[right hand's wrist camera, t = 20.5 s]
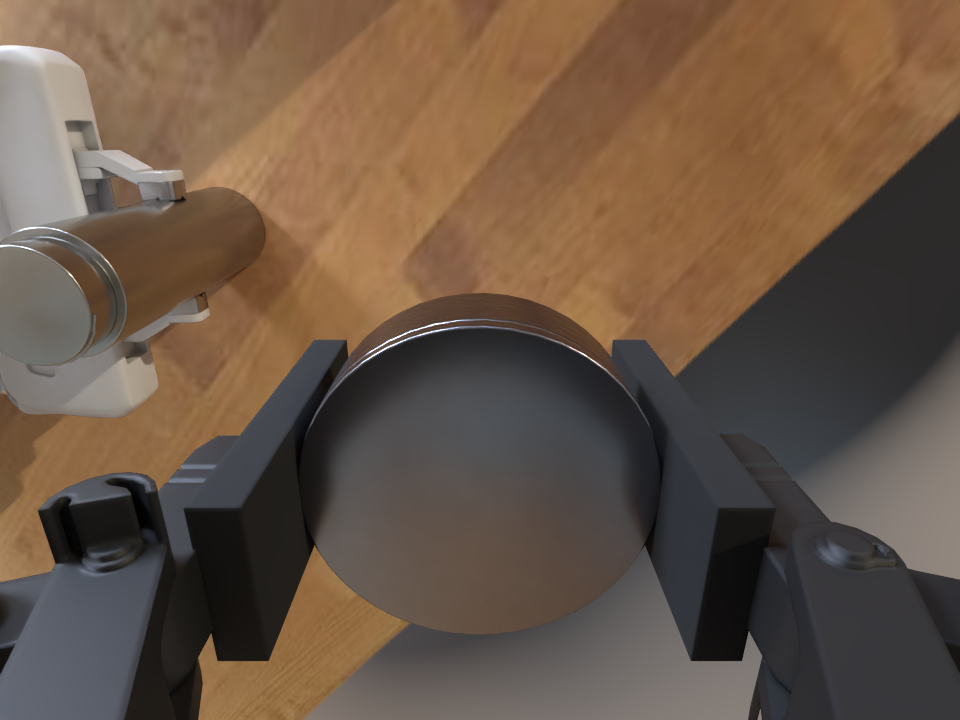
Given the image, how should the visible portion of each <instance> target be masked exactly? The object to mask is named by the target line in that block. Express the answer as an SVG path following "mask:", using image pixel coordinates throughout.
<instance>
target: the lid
mask: <svg viewBox="0 0 960 720" xmlns="http://www.w3.org/2000/svg"><path fill="white" fill-rule="evenodd" d="M298 483H299V492H300V499H301V506H302V513H303V517H304V520H305V523H306V526H307V529H308V532H309V534H310V536H311V538H312V540H313V542H314V544H315V546H316V548H317V550H318V551H319V553H320V554H321V556H322V557H323V559H324V560H325V561H326V563H327V564H328V566H329V567H330V568H331V569H332V570H333V572H334V573H335V574H336V575H337V576H338V577H339V578H340V579H341V580H342V581H343V582H344V583H345V584H346V585H347V586H348V587H349V588H351V589H352V590H353V591H354V592H355V593H356V594H358V595H359V596H360V597H362V598H363V599H365V600H366V601H368V602H369V603H371V604H372V605H374V606H375V607H377V608H379V609H381V610H383V611H385V612H387V613H389V614H391V615H392V616H395V617H397V618H400V619H402V620H405V621H407V622H410V623H412V624H416V625H419V626H423V627H426V628H430V629H434V630H440V631H446V632H451V633H462V634H499V633H507V632H515V631H520V630H525V629H529V628H533V627H537V626H541V625H544V624H547V623H550V622H552V621H555V620H558V619H560V618H562V617H565V616H567V615H569V614H571V613H573V612H575V611H577V610H579V609H580V608H582V607H584V606H586V605H587V604H589V603H591V602H592V601H594V600H595V599H596V598H598V597H599V596H600V595H602V594H603V593H604V592H605V591H607V590H608V589H609V588H611V587H612V586H613V585H614V584H615V583H616V582H617V581H618V580H619V579H620V578H621V577H622V576H623V575H624V574H625V573H626V571H627V570H628V569H629V567H630V566H631V565H632V564H633V562H634V561H635V560H636V558H637V557H638V555H639V554H640V552H641V550H642V549H643V547H644V545H645V544H646V542H647V540H648V538H649V535H650V533H651V530H652V528H653V525H654V523H655V520H656V516H657V511H658V504H659V497H660V489H661V461H660V456H659V452H658V447H657V443H656V439H655V437H654V434H653V432H652V429H651V427H650V424H649V422H648V420H647V418H646V416H645V414H644V413H643V411H642V409H641V407H640V406H639V404H638V402H637V401H636V399H635V397H634V395H633V394H632V392H631V390H630V388H629V387H628V385H627V383H626V381H625V380H624V378H623V376H622V374H621V373H620V371H619V369H618V368H617V366H616V364H615V362H614V361H613V359H612V358H611V356H610V355H609V354H608V353H607V351H606V350H605V349H604V348H603V346H602V345H601V344H600V343H599V342H598V341H597V340H596V339H595V338H594V337H593V336H592V335H591V334H590V333H589V332H587V331H586V330H585V329H584V328H582V327H581V326H580V325H578V324H577V323H575V322H574V321H573V320H571V319H570V318H568V317H567V316H565V315H563V314H561V313H559V312H557V311H555V310H553V309H551V308H549V307H547V306H544V305H541V304H538V303H536V302H533V301H530V300H527V299H522V298H518V297H513V296H509V295H501V294H490V293H472V294H458V295H452V296H446V297H440V298H437V299H434V300H430V301H427V302H424V303H420V304H418V305H416V306H413V307H411V308H409V309H407V310H404V311H402V312H400V313H398V314H397V315H395V316H393V317H392V318H390V319H389V320H387V321H385V322H384V323H382V324H381V325H380V326H378V327H377V328H376V329H375V330H374V331H372V332H371V333H370V334H369V335H368V336H366V337H365V339H364V340H363V341H362V342H361V343H360V344H359V345H358V346H357V347H356V348H355V349H354V351H353V352H352V353H351V355H350V356H349V358H348V359H347V361H346V362H345V364H344V365H343V366H342V368H341V370H340V371H339V373H338V375H337V377H336V378H335V380H334V382H333V384H332V385H331V387H330V389H329V390H328V392H327V394H326V396H325V397H324V399H323V401H322V403H321V404H320V406H319V408H318V409H317V411H316V413H315V415H314V417H313V419H312V421H311V424H310V426H309V428H308V430H307V432H306V436H305V439H304V442H303V446H302V449H301V453H300V460H299V468H298Z"/></svg>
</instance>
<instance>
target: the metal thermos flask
mask: <svg viewBox="0 0 960 720" xmlns="http://www.w3.org/2000/svg"><path fill="white" fill-rule="evenodd" d="M186 195H187V198H181V199H178V200H161V199H158V200H151V201H147V202H142V203H138V204H133V205H129V206H124V207H120V208H115V209H111V210H106V211H102V212H97V213H93V214H88V215H84V216H79V217H75V218H70V219H65V220H61V221H56V222H52V223H47V224H43V225H38V226H34V227H29V228H25V229H21V230H18V231H16V232H13V233H12V234H10V235H8V236H7V237H5V238H4V239H3V240H2V241H1V242H0V352H1V353H2V354H4V355H6V356H8V357H10V358H12V359H14V360H17V361H19V362H23V363H26V364H31V365H38V366H60V365H64V364H67V363H72V362H74V361H75V360H77V359H78V358H86V357H91V356H94V355H97V354H100V353H102V352H104V351H106V350H107V349H109V348H111V347H112V346H114V345H116V344H117V343H119V342H121V341H122V340H124V339H126V338H128V337H129V336H131V335H133V334H134V333H136V332H138V331H139V330H141V329H143V328H144V327H146V326H148V325H149V324H151V323H153V322H154V321H156V320H158V319H159V318H161V317H163V316H165V315H166V314H168V313H170V312H171V311H173V310H175V309H176V308H178V307H180V306H181V305H183V304H185V303H186V302H188V301H190V300H191V299H193V298H195V297H196V296H198V295H200V294H201V293H203V292H205V291H207V290H208V289H210V288H212V287H213V286H215V285H217V284H218V283H220V282H222V281H223V280H225V279H227V278H228V277H230V276H232V275H233V274H235V273H237V272H238V271H240V270H242V269H244V268H245V267H247V266H249V265H250V264H251V263H253V262H254V261H255V260H256V259H257V258H258V256H259V255H260V253H261V252H262V249H263V247H264V243H265V228H264V223H263V220H262V218H261V216H260V213H259V212H258V210H257V209H256V207H255V206H254V205H253V204H252V203H251V202H250V201H249V200H248V199H247V198H246V197H245V196H243V195H242V194H240V193H238V192H236V191H234V190H231V189H228V188H224V187H210V188H205V189H201V190H196V191H192V192H187V193H186Z"/></svg>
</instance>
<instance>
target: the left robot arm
mask: <svg viewBox="0 0 960 720" xmlns="http://www.w3.org/2000/svg"><path fill="white" fill-rule="evenodd" d="M118 176H120V177H122V178H124V179H126V180H128V181H130V182H132V183H134V184H136V185H138V186H139V190H140V194H141V198H142V201H151V200H158V199H161V200H178V199H181V198H187V195H186V189H185V183H184V177H183V172H182V170H153V169H152V167H150V166H148V165H146V164H144V163H142V162H141V161H139V160H137V159H135V158H133V157H132V156H130V155H128V154H126V153H124V152H122V151H121V150H103V148H102V144H101V140H100V135H99V131H98V127H97V123H96V119H95V115H94V110H93V106H92V102H91V98H90V94H89V89H88V85H87V80H86V76H85V73H84V71H83V69H82V68H81V67H80V66H79V65H78V64H76V63H75V62H74V61H72V60H71V59H69V58H68V57H66V56H65V55H63V54H62V53H60V52H57V51H53V50H49V49H44V48H37V47H29V46H0V242H1V241H2V240H3V239H4V238H5V237H7V236H8V235H10V234H12V233H13V232H16V231H18V230H21V229H25V228H29V227H34V226H38V225H43V224H47V223H52V222H56V221H61V220H65V219H70V218H75V217H79V216H84V215H88V214H93V213H97V212H102V211H106V210H111V209H115V208H117V207H116V202H115V198H114V194H113V190H112V186H111V181H110V178H111V177H118ZM208 316H210V312H209V307H208V302H207V297H206V292H203V293H201V294H200V295H198V296H196V297H195V298H193V299H191V300H190V301H188V302H186V303H185V304H183V305H181V306H180V307H178V308H176V309H175V310H173V311H171V312H170V313H168V314H166V315H165V316H163V317H161V318H159V319H158V320H156V321H154V322H153V323H151V324H149V325H148V326H146V327H144V328H143V329H141V330H139V331H138V332H136V333H134V334H133V335H131V336H129V337H128V338H126V339H124V340H122V341H121V342H119V343H117V344H116V345H114V346H112V347H111V348H109V349H107V350H106V351H104V352H102V353H100V354H97V355H94V356H91V357H86V358H78V359H77V360H75V361H74V362H72V363H67V364H64V365H60V366H38V365H31V364H26V363H23V362H19V361H17V360H14V359H12V358H10V357H8V356H6V355H4V354H2V353H1V352H0V394H1V395H7V397H8V399H9V400H10V401H11V402H12V403H13V404H14V405H15V406H17V407H18V408H19V409H20V411H22V412H24V413H27V414H33V415H41V414H65V415H74V416H84V417H96V418H120V417H124V416H126V415H128V414H130V413H131V412H133V411H134V410H136V409H137V408H138V407H140V406H141V405H142V404H143V403H144V402H145V401H147V400H148V399H149V398H150V396H151V395H152V394H153V393H154V392H155V391H156V390H157V388H158V378H157V374H156V370H155V366H154V362H153V357H152V353H151V349H150V345H149V341H148V338H150V337H151V336H153V335H154V334H156V333H158V332H159V331H161V330H162V329H164V328H166V327H167V326H169V325H170V324H172V323H195V322H199V321H203V320H204V319H205V318H207V317H208Z"/></svg>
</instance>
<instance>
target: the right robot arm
mask: <svg viewBox="0 0 960 720" xmlns="http://www.w3.org/2000/svg"><path fill="white" fill-rule="evenodd" d="M611 358H612V359H613V361H614V362H615V364H616V366H617V368H618V369H619V371H620V373H621V374H622V376H623V378H624V380H625V381H626V383H627V385H628V387H629V388H630V390H631V392H632V394H633V395H634V397H635V399H636V401H637V402H638V404H639V406H640V407H641V409H642V411H643V413H644V414H645V416H646V418H647V420H648V422H649V424H650V427H651V429H652V432H653V434H654V437H655V439H656V443H657V447H658V452H659V456H660V461H661V489H660V497H659V504H658V511H657V516H656V520H655V523H654V525H653V528H652V530H651V533H650V535H649V538H648V540H647V542H646V544H645V546H646V549H647V551H648V553H649V556H650V559H651V561H652V564H653V566H654V569H655V571H656V574H657V576H658V579H659V581H660V584H661V586H662V589H663V591H664V594H665V596H666V599H667V602H668V604H669V607H670V609H671V611H672V614H673V617H674V619H675V622H676V624H677V627H678V629H679V632H680V634H681V637H682V639H683V642H684V644H685V647H686V649H687V652H688V654H689V657H690V659H691V661H742V658H743V654H744V649H745V645H746V640H747V636H748V632H750V634H751V636H752V637H753V639H754V641H755V643H756V645H757V647H758V649H759V650H760V652H761V654H762V660H761V665H760V669H759V673H758V677H757V681H756V685H755V689H754V694H753V698H752V702H751V706H750V712H749V719H748V720H757V719H758V715H759V711H760V709H761V715H762V720H960V580H959V579H954V578H949V577H944V576H939V575H934V574H929V573H924V572H919V571H915V570H911V569H907V567H906V565H905V563H904V562H903V560H902V559H901V558H900V557H899V555H898V554H897V553H896V552H895V550H894V549H892V548H891V547H889V546H888V545H887V544H885V543H884V542H883V541H881V540H880V539H878V538H877V537H875V536H873V535H870V534H868V533H866V532H864V531H862V530H860V529H857V528H854V527H850V526H847V525H843V524H840V523H836V522H831V521H830V520H829V519H828V518H827V517H826V516H825V515H824V514H823V513H822V511H821V510H820V509H819V508H818V507H817V506H816V505H815V504H814V502H813V501H812V500H811V499H810V498H809V497H808V496H807V495H806V493H805V492H804V491H803V490H802V489H801V488H800V487H799V486H798V484H797V483H796V482H795V481H791V477H790V475H789V474H788V473H787V472H786V471H785V470H784V469H783V468H782V467H779V463H778V462H777V461H776V460H775V459H774V458H773V456H772V455H771V454H770V453H769V452H768V451H767V450H766V449H765V448H764V447H763V446H761V445H759V444H758V443H756V442H754V441H753V440H751V439H749V438H748V437H746V436H744V435H742V434H718V433H717V432H716V430H715V429H714V428H713V426H712V425H711V424H710V423H709V421H708V420H707V419H706V417H705V416H704V415H703V414H702V412H701V411H700V410H699V408H698V407H697V406H696V405H695V403H694V402H693V401H692V400H691V398H690V397H689V396H688V394H687V393H686V392H685V390H684V389H683V388H682V387H681V385H680V384H679V383H678V382H677V380H676V379H675V378H674V376H673V375H672V374H671V373H670V371H669V370H668V369H667V367H666V366H665V365H664V364H663V362H662V361H661V360H660V358H659V357H658V356H657V355H656V353H655V352H654V351H653V349H652V348H651V347H650V346H649V344H648V343H647V342H646V341H645V340H613V346H612V357H611ZM347 359H348V350H347V340H314V341H313V343H312V344H311V345H310V346H309V348H308V349H307V350H306V352H305V353H304V354H303V355H302V357H301V358H300V359H299V361H298V362H297V363H296V364H295V366H294V367H293V368H292V370H291V371H290V372H289V373H288V375H287V376H286V377H285V378H284V380H283V381H282V382H281V384H280V385H279V386H278V387H277V389H276V390H275V391H274V393H273V394H272V395H271V396H270V398H269V399H268V400H267V402H266V403H265V404H264V405H263V407H262V408H261V409H260V410H259V412H258V413H257V414H256V416H255V417H254V418H253V419H252V421H251V422H250V423H249V425H248V426H247V427H246V428H245V430H244V431H243V432H242V434H241V435H240V436H217V437H216V438H214V439H212V440H211V441H209V442H207V443H206V444H204V445H202V446H201V447H199V448H197V449H196V450H195V451H194V452H193V453H192V454H191V455H190V456H189V457H188V458H187V460H186V461H185V462H184V463H183V464H182V465H181V469H178V470H177V471H176V472H175V473H174V474H173V475H172V477H171V478H170V479H169V483H165V484H164V486H163V487H162V488H161V489H160V490H159V491H157V487H156V483H155V481H154V480H152V479H151V478H150V477H148V476H147V475H144V474H138V473H132V472H127V473H111V474H107V475H103V476H98V477H94V478H90V479H87V480H84V481H82V482H79V483H77V484H74V485H72V486H69V487H67V488H65V489H64V490H62V491H61V492H59V493H57V494H56V495H54V496H52V497H51V498H49V499H48V500H47V501H46V502H45V503H44V505H43V506H42V507H41V508H40V509H39V510H38V513H39V516H40V519H41V522H42V525H43V528H44V531H45V533H46V536H47V539H48V542H49V545H50V548H51V551H52V554H53V557H54V560H55V563H56V564H55V566H54V568H53V570H52V571H51V572H48V573H44V574H39V575H34V576H29V577H24V578H19V579H15V580H10V581H5V582H0V720H198V716H199V708H200V700H201V692H202V684H203V682H202V675H201V669H200V665H199V660H198V657H199V655H200V653H201V651H202V649H203V647H204V645H205V643H206V642H207V640H208V638H209V636H210V634H211V633H212V638H213V642H214V647H215V651H216V656H217V660H218V661H269V659H270V656H271V654H272V651H273V649H274V646H275V643H276V641H277V638H278V636H279V633H280V631H281V628H282V626H283V623H284V621H285V618H286V616H287V613H288V611H289V608H290V606H291V603H292V601H293V598H294V596H295V593H296V590H297V588H298V585H299V583H300V580H301V578H302V575H303V573H304V570H305V568H306V565H307V563H308V560H309V558H310V555H311V553H312V550H313V548H314V545H315V544H314V542H313V540H312V538H311V536H310V534H309V532H308V529H307V526H306V523H305V520H304V517H303V513H302V506H301V499H300V492H299V483H298V468H299V460H300V453H301V449H302V446H303V442H304V439H305V436H306V432H307V430H308V428H309V426H310V424H311V421H312V419H313V417H314V415H315V413H316V411H317V409H318V408H319V406H320V404H321V403H322V401H323V399H324V397H325V396H326V394H327V392H328V390H329V389H330V387H331V385H332V384H333V382H334V380H335V378H336V377H337V375H338V373H339V371H340V370H341V368H342V366H343V365H344V364H345V362H346V361H347Z"/></svg>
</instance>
